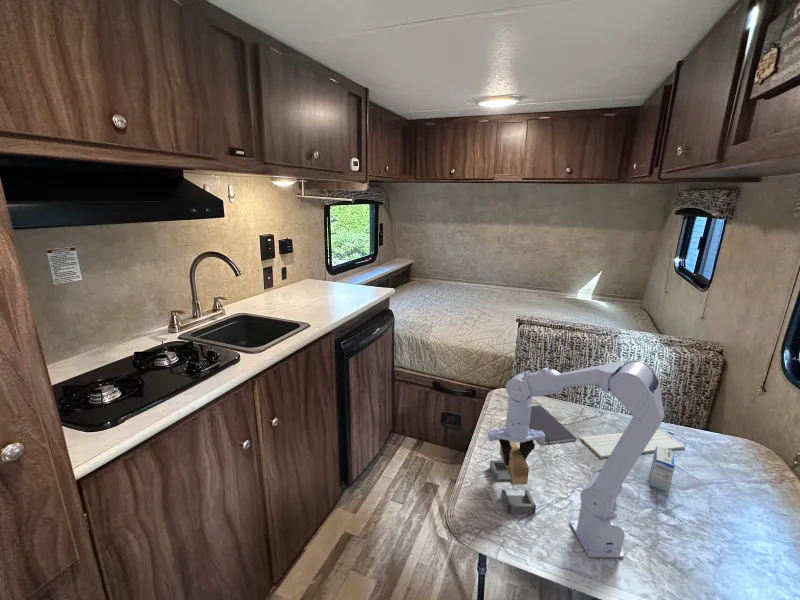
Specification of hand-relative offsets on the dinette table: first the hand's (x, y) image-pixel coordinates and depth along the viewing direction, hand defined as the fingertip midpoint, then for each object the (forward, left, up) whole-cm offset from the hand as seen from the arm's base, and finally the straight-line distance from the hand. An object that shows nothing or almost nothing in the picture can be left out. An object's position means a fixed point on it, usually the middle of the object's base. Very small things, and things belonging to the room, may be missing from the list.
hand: (513, 462), depth 98 cm
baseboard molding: (+21, -47, -9) cm, 52 cm away
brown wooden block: (0, 0, -2) cm, 2 cm away
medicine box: (+3, -44, -9) cm, 45 cm away
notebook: (+31, -21, -9) cm, 39 cm away
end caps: (0, 0, -8) cm, 8 cm away
